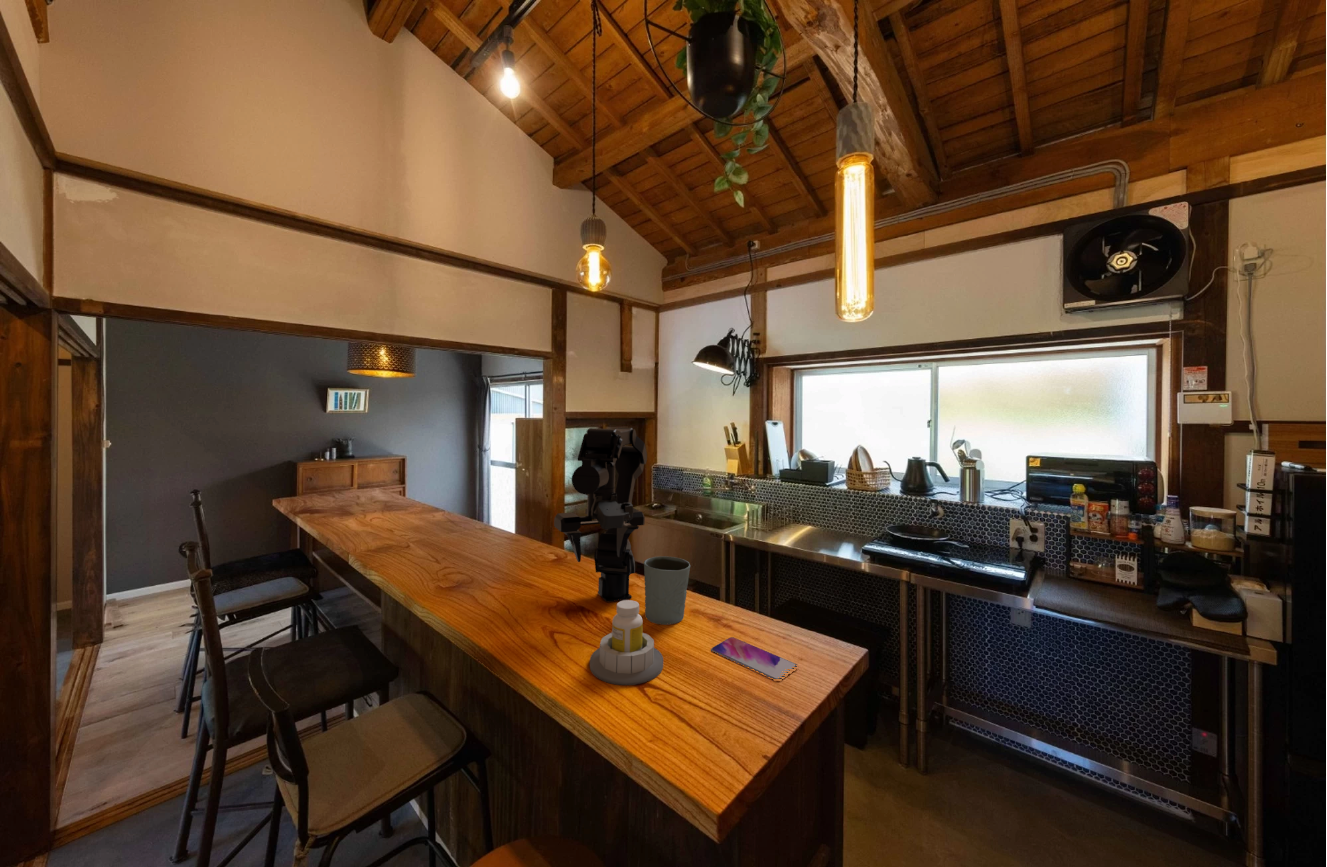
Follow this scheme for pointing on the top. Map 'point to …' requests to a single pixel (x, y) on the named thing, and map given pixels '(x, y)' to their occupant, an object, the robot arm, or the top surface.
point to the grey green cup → (665, 589)
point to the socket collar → (626, 663)
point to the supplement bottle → (627, 627)
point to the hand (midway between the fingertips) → (599, 559)
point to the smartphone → (753, 657)
